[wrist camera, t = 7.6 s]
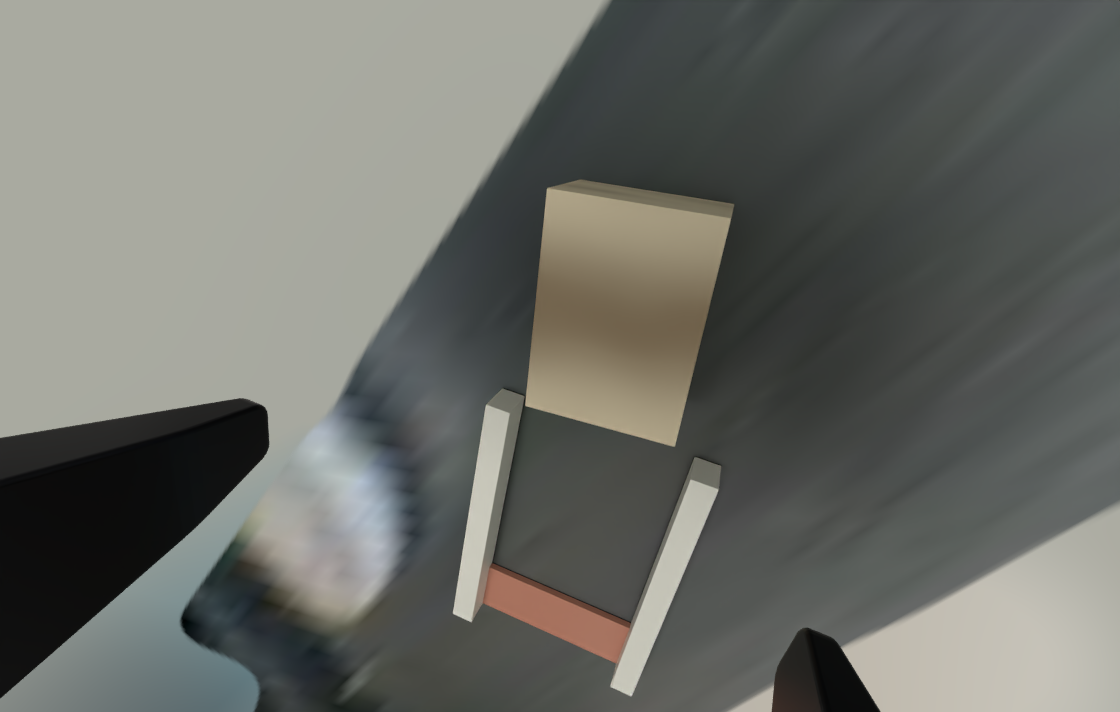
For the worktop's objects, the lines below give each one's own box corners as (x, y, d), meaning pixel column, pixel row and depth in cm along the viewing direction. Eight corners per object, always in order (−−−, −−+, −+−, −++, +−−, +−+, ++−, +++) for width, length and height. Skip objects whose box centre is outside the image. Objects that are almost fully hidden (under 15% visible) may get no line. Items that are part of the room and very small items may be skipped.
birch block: (686, 397, 19) (674, 446, 16) (558, 365, 21) (525, 405, 18) (734, 202, 16) (730, 218, 13) (582, 179, 18) (547, 188, 15)
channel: (637, 666, 25) (631, 696, 24) (467, 590, 27) (452, 613, 25) (721, 465, 20) (718, 489, 18) (502, 388, 22) (486, 404, 20)
